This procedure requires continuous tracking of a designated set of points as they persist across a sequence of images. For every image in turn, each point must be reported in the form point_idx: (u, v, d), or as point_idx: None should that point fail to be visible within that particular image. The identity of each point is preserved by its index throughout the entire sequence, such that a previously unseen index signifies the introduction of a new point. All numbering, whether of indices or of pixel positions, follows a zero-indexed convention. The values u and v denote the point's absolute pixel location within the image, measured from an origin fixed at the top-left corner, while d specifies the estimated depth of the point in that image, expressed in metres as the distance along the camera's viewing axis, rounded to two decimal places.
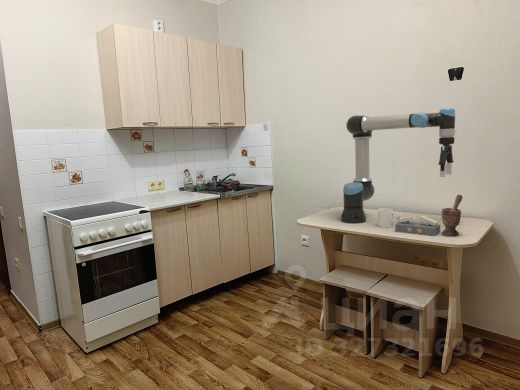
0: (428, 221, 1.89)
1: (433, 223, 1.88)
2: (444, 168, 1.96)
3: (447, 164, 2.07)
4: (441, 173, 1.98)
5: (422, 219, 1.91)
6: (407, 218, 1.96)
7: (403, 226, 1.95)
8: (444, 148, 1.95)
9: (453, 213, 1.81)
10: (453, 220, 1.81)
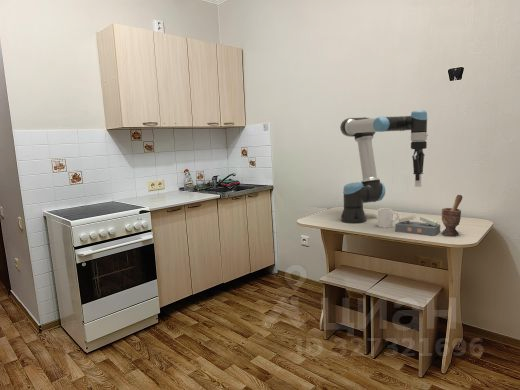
0: (428, 221, 1.89)
1: (433, 223, 1.88)
2: (419, 178, 1.90)
3: None
4: (416, 183, 1.91)
5: (422, 219, 1.91)
6: (407, 218, 1.96)
7: (403, 226, 1.95)
8: (416, 158, 1.85)
9: (453, 213, 1.81)
10: (453, 220, 1.81)
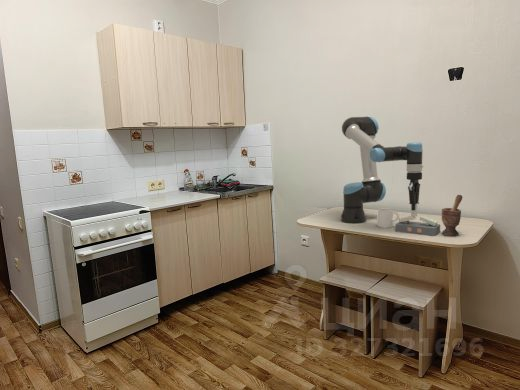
0: (428, 221, 1.89)
1: (433, 223, 1.88)
2: (415, 207, 1.93)
3: None
4: (412, 212, 1.95)
5: (422, 219, 1.91)
6: (407, 218, 1.96)
7: (403, 226, 1.95)
8: (411, 189, 1.88)
9: (453, 213, 1.81)
10: (453, 220, 1.81)
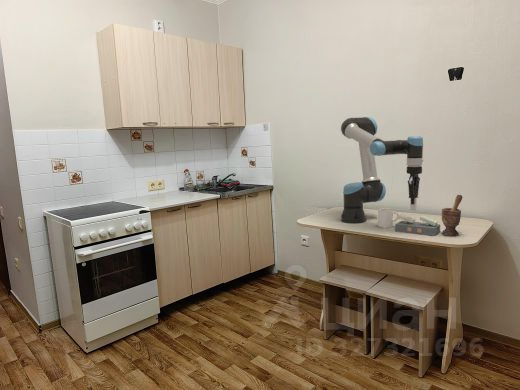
0: (428, 221, 1.89)
1: (433, 223, 1.88)
2: (414, 201, 1.94)
3: None
4: (411, 206, 1.95)
5: (422, 219, 1.91)
6: (407, 219, 1.96)
7: (403, 226, 1.95)
8: (411, 183, 1.88)
9: (453, 213, 1.81)
10: (453, 220, 1.81)
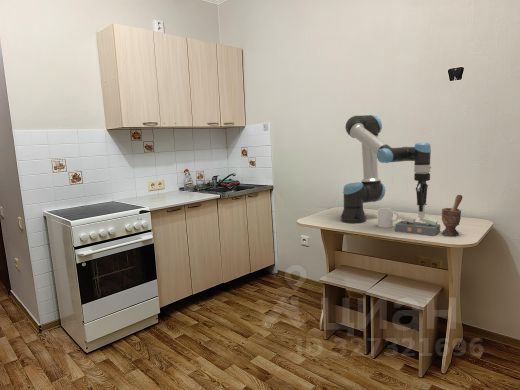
0: (428, 221, 1.89)
1: (433, 223, 1.88)
2: (422, 209, 1.91)
3: None
4: (419, 213, 1.93)
5: (422, 219, 1.91)
6: (407, 219, 1.96)
7: (403, 226, 1.95)
8: (419, 190, 1.86)
9: (453, 213, 1.81)
10: (453, 220, 1.81)
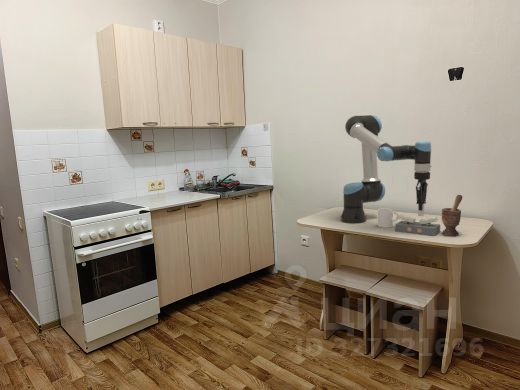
0: (428, 221, 1.89)
1: (433, 220, 1.88)
2: (422, 207, 1.91)
3: None
4: (419, 212, 1.93)
5: (422, 222, 1.91)
6: (407, 219, 1.96)
7: (403, 226, 1.95)
8: (419, 189, 1.86)
9: (453, 213, 1.81)
10: (453, 220, 1.81)
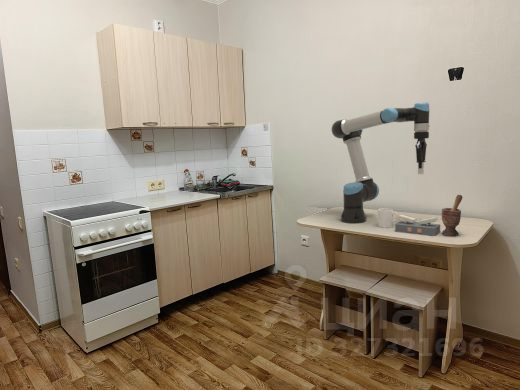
0: (428, 221, 1.89)
1: (433, 220, 1.88)
2: (422, 166, 2.02)
3: None
4: (418, 170, 2.04)
5: (422, 222, 1.91)
6: (407, 219, 1.96)
7: (403, 226, 1.95)
8: (419, 147, 1.97)
9: (453, 213, 1.81)
10: (453, 220, 1.81)
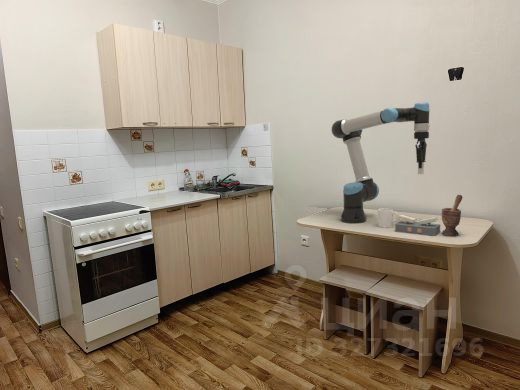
0: (428, 221, 1.89)
1: (433, 220, 1.88)
2: (422, 166, 2.03)
3: None
4: (419, 170, 2.04)
5: (422, 222, 1.91)
6: (407, 219, 1.96)
7: (403, 226, 1.95)
8: (419, 147, 1.97)
9: (453, 213, 1.81)
10: (453, 220, 1.81)
